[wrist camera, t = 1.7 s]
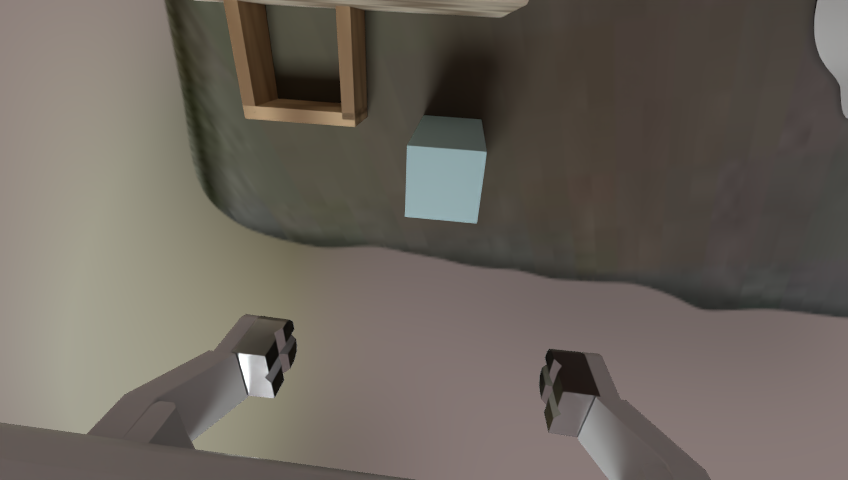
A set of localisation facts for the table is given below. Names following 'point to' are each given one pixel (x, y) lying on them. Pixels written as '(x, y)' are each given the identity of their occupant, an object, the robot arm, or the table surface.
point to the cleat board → (257, 64)
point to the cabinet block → (445, 169)
